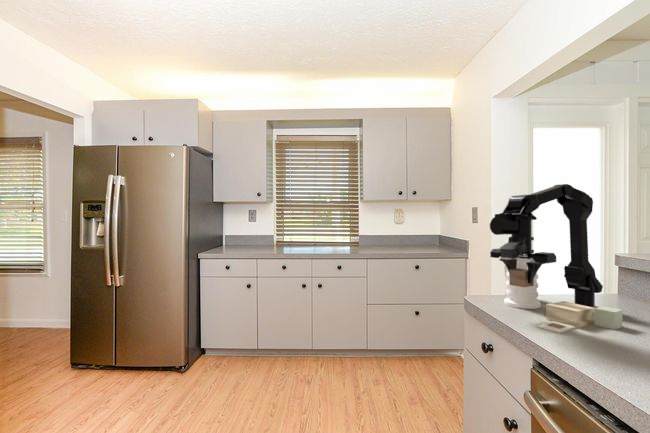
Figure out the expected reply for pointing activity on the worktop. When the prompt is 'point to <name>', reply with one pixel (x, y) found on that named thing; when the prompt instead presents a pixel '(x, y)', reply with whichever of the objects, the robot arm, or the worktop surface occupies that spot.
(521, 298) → the decorative container
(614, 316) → the sage cube
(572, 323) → the birch plinth
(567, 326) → the card
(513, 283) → the walnut cube
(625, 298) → the worktop surface
